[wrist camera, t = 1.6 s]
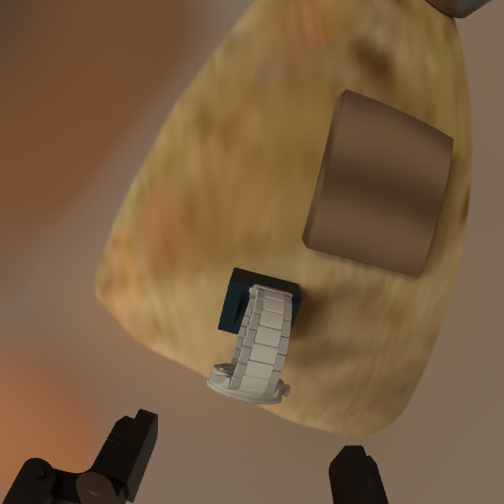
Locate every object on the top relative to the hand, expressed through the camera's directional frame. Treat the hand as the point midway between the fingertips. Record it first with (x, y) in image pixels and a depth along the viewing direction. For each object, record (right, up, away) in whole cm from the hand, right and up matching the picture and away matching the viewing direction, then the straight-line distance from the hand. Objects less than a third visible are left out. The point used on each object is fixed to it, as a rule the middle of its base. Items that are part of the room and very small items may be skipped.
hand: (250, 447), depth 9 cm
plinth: (+10, +14, +12) cm, 21 cm away
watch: (+1, +4, +15) cm, 15 cm away
